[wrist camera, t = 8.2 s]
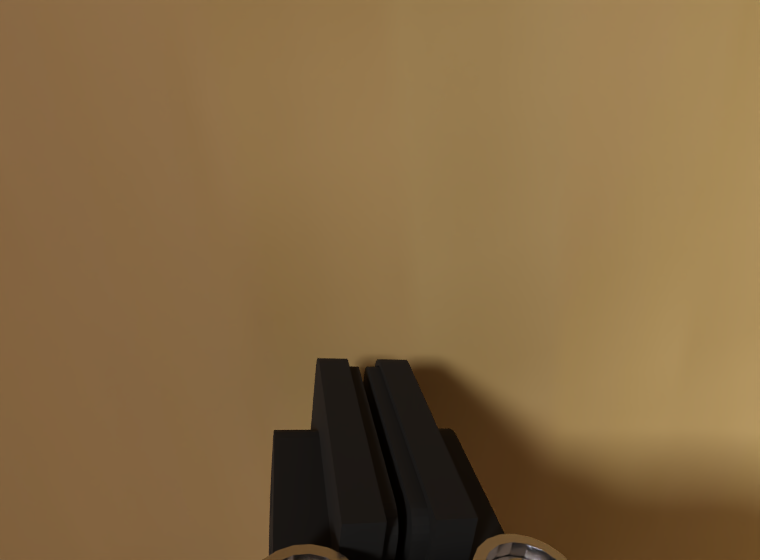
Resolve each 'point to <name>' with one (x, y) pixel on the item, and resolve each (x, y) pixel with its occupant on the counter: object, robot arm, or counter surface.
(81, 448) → the counter surface
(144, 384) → the counter surface
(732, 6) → the counter surface
